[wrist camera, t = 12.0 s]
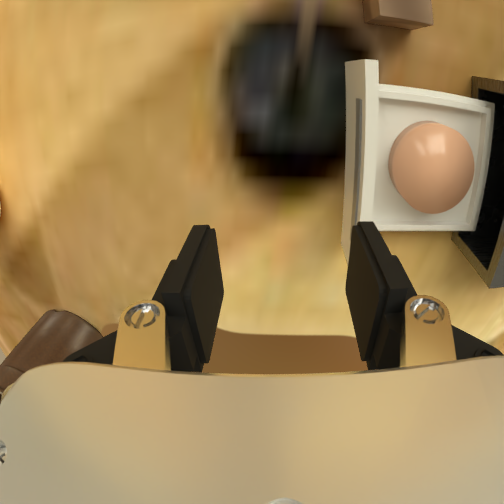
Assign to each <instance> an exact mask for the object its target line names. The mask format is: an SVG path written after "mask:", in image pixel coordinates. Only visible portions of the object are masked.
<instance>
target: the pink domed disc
mask: <svg viewBox="0 0 504 504" xmlns="http://www.w3.org/2000/svg"><path fill="white" fill-rule="evenodd" d="M388 169H389V175H390V179H391V181H392V183H393V185H394V187H395V189H396V190H397V191H398V192H399V194H400V195H401V196H402V197H403V198H404V199H405V201H406V202H407V203H408V204H409V205H410V206H412V207H413V208H414V209H416V210H418V211H420V212H423V213H428V214H437V213H442V212H445V211H447V210H450V209H451V208H453V207H454V206H456V205H457V204H458V203H459V202H460V201H461V200H462V199H463V198H464V197H465V195H466V194H467V192H468V190H469V188H470V186H471V184H472V181H473V176H474V157H473V153H472V150H471V147H470V145H469V143H468V142H467V140H466V139H465V138H464V137H463V136H462V135H461V134H460V133H459V132H458V131H456V130H454V129H452V128H450V127H448V126H446V125H443V124H441V123H438V122H435V121H419V122H416V123H413V124H411V125H409V126H408V127H406V128H405V129H404V130H403V131H402V132H401V133H400V134H399V135H398V136H397V138H396V139H395V141H394V143H393V145H392V147H391V150H390V154H389V160H388Z"/></svg>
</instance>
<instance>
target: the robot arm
mask: <svg viewBox="0 0 504 504" xmlns="http://www.w3.org/2000/svg"><path fill="white" fill-rule="evenodd" d="M223 295H224V288H223V281H222V274H221V267H220V260H219V253H218V246H217V239H216V232H215V229H214V228H213V229H210V226H209V225H194V226H193V227H192V229H191V231H190V233H189V235H188V237H187V239H186V241H185V243H184V245H183V247H182V250H181V252H180V254H179V256H178V258H177V260H171V262H170V263H169V265H168V267H167V269H166V271H165V273H164V276H163V278H162V280H161V282H160V284H159V286H158V288H157V290H156V292H155V294H154V296H153V298H152V300H142V301H138V302H136V303H133V304H131V305H130V306H128V307H127V308H126V309H125V310H124V311H123V312H122V314H121V316H120V319H119V326H118V330H117V331H115V332H113V333H111V334H109V335H107V336H105V337H103V338H101V339H99V340H97V341H95V342H93V343H91V344H89V345H88V346H86V347H84V348H82V349H80V350H78V351H76V352H74V353H72V354H70V355H69V356H67V357H66V358H65V359H64V360H63V361H62V362H56V363H51V364H46V365H41V366H38V367H35V368H33V369H30V370H28V371H27V372H25V373H24V374H23V375H21V376H20V377H19V378H18V379H17V381H16V382H15V383H13V384H11V385H9V386H8V387H7V388H6V389H5V390H4V392H3V394H2V397H1V404H0V504H504V355H503V354H502V353H501V352H500V351H499V350H498V349H496V348H495V347H493V346H491V345H489V344H487V343H485V342H483V341H481V340H479V339H478V338H476V337H474V336H472V335H470V334H468V333H466V332H464V331H462V330H460V329H458V328H456V327H454V326H452V325H451V321H450V315H449V311H448V309H447V307H446V306H445V305H444V303H442V302H441V301H440V300H438V299H436V298H434V297H431V296H427V295H418V296H417V294H416V292H415V290H414V288H413V286H412V284H411V282H410V280H409V278H408V276H407V274H406V272H405V270H404V268H403V266H402V264H401V263H400V261H399V259H398V257H397V256H395V255H391V253H390V251H389V249H388V247H387V245H386V243H385V242H384V240H383V238H382V236H381V234H380V232H379V231H378V229H377V227H376V225H375V224H374V222H373V221H358V223H357V225H353V226H352V232H351V243H350V253H349V262H348V271H347V279H346V296H347V300H348V304H349V308H350V312H351V316H352V321H353V325H354V329H355V334H356V338H357V343H358V347H359V352H360V356H361V360H362V361H367V367H368V371H354V372H338V373H318V374H269V375H268V374H222V373H200V372H202V369H203V365H204V363H209V360H210V355H211V351H212V346H213V341H214V337H215V332H216V328H217V323H218V318H219V314H220V309H221V305H222V300H223ZM375 369H379V370H375Z"/></svg>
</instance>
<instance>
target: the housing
mask: <svg viewBox="0 0 504 504" xmlns="http://www.w3.org/2000/svg"><path fill="white" fill-rule="evenodd" d="M472 98H474V99H478V100H483V101H487V102H491V103H494V104H495V111H494V125H493V135H492V144H491V152H490V159H489V166H488V172H487V178H486V184H485V189H484V195H483V199H482V204H481V209H480V213H479V218H478V222H477V226H476V230H475V231H453V235H452V241H453V242H454V243H455V244H456V246H457V247H458V248H459V249H460V251H461V252H462V253H463V254H464V256H465V257H466V258H467V259H468V261H469V262H470V263H471V265H472V266H473V267H474V269H475V270H476V271H477V273H478V274H479V275H480V277H481V278H482V279H483V281H484V282H485V283H486V285H487V286H488V288H498V287H504V81H500V80H494V79H488V78H481V77H475V76H472Z"/></svg>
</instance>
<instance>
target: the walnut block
mask: <svg viewBox="0 0 504 504" xmlns="http://www.w3.org/2000/svg"><path fill="white" fill-rule="evenodd" d="M363 10H364V23H368V24H376V25H384V26H391V27H397V28H403V29H409V30H414V29H418V28H422V27H427V26H431V25H433V14H432V4H431V0H363Z"/></svg>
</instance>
